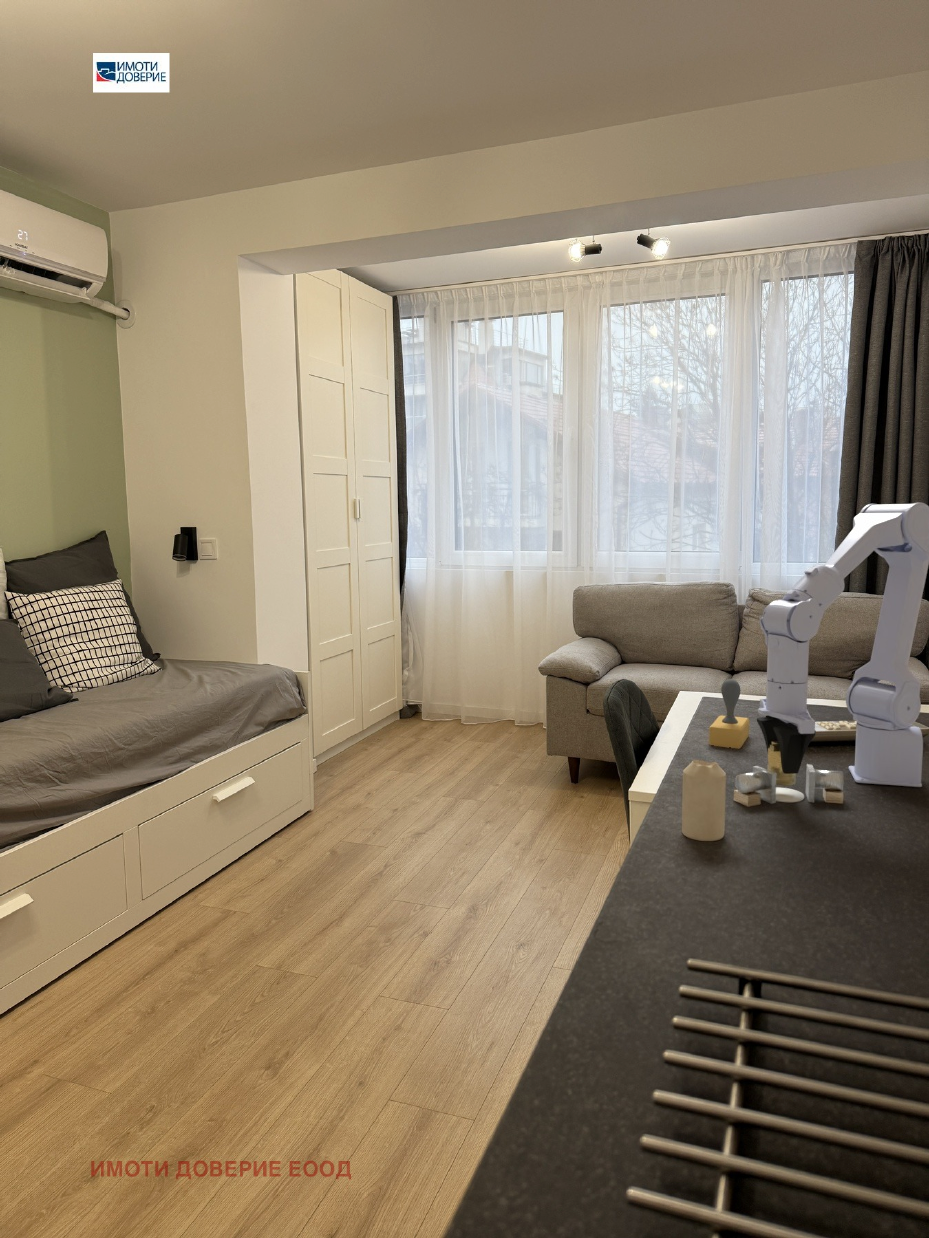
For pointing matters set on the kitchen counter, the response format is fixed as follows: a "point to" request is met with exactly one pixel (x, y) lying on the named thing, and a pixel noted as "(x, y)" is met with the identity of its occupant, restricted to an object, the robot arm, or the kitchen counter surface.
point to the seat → (788, 795)
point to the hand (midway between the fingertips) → (783, 768)
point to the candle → (703, 801)
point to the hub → (778, 766)
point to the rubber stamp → (729, 720)
